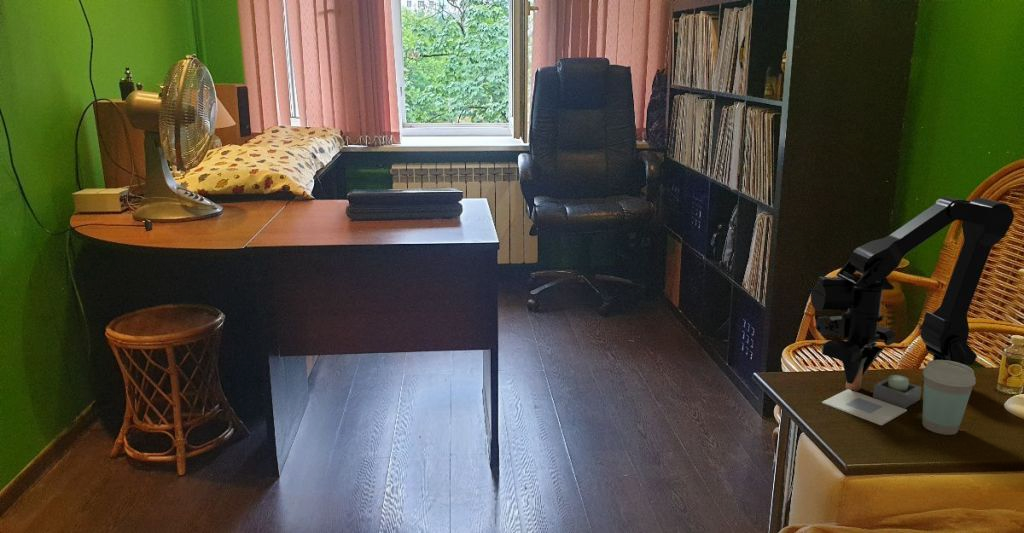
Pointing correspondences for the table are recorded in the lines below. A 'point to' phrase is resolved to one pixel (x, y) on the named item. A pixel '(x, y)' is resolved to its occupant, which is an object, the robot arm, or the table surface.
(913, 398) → the button housing
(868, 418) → the paper
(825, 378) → the table surface
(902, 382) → the button
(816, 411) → the table surface
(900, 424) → the table surface
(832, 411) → the table surface
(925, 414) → the coffee cup
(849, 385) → the marker
